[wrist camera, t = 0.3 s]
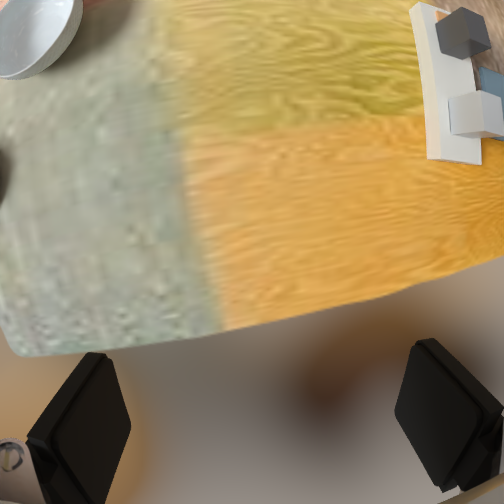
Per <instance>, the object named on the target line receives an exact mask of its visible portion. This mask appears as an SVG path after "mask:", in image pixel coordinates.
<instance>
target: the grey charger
mask: <svg viewBox="0 0 504 504" xmlns="http://www.w3.org/2000/svg"><path fill="white" fill-rule="evenodd" d="M448 103H449V105H448V108H449V120H450V131H451V135H456V136H461V137H466V138H471V139H474V138H487V137H502V136H504V121H503V112H502V103H501V97H498V96H495V95H493V94H490V93H487V92H484V91H481V90H478V91H475V92H471V93H467V94H464V95H460V96H457V97H453V98H450V99H448Z"/></svg>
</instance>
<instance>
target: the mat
mask: <svg viewBox="0 0 504 504" xmlns="http://www.w3.org/2000/svg"><path fill="white" fill-rule="evenodd" d="M479 73H480V79H481V86H482V91H484V92H487V93H490V94H493V95H495V96H498V97H501V103H502V112H503V121H504V76H503V75H501V74H499V73H496V72H494V71H492V70H489V69H487V68H484V67H480V68H479ZM489 138H493V139H497V140H500V141H504V136H502V137H489Z"/></svg>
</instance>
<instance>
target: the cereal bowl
mask: <svg viewBox="0 0 504 504" xmlns="http://www.w3.org/2000/svg"><path fill="white" fill-rule="evenodd" d="M82 14H83V0H9V1H8V2H7V3H6V4H5V6H4V7H3V8H2V10H1V11H0V78H3V79H8V80H21V79H25V78H29V77H31V76H34V75H36V74H38V73H40V72H41V71H43V70H44V69H46V68H47V67H49V66H50V65H51V64H53V62H55V61H56V60H57V59H58V58H59V57H60V55H61V54H63V52H64V51H65V50H66V49H67V47H68V46H69V44H70V43H71V41H72V40H73V38H74V36H75V34H76V32H77V30H78V28H79V25H80V22H81V19H82Z"/></svg>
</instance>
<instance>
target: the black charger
mask: <svg viewBox="0 0 504 504" xmlns="http://www.w3.org/2000/svg"><path fill="white" fill-rule="evenodd" d="M435 26H436V32H437V37H438V42H439V47H440V51H441V53H442V54H446V55H449V56H452V57H455V58H458V59H461V60H463V59H466V58H468V57H470V56H473V55H475V54H478V53H480V52H483V51H485V50H488V49H490V48H491V44H490V40H489V36H488V32H487V28H486V25H485V21H484V18H483V16H481V15H479V14H476V13H474V12H472V11H470V10H468V9H466V8H463V7H460V8H459V9H457V10H456V11H454V12H452V13H451V14H449V15H448V16H446V17H445V18H443V19H442V20H440V21H439V22H437V23H436V24H435Z"/></svg>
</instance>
